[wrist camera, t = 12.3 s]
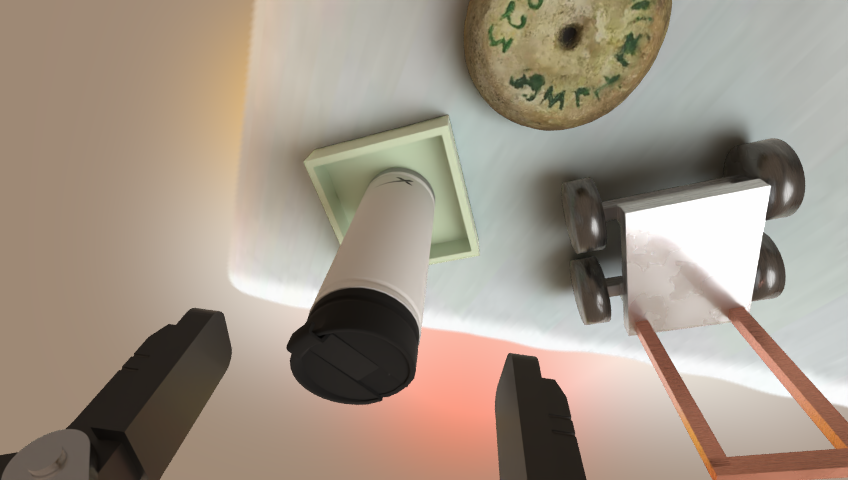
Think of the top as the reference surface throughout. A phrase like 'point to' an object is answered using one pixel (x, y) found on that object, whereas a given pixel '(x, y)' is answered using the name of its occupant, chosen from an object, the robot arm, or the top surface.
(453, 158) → the tray
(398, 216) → the travel mug
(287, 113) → the top surface
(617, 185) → the top surface
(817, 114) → the top surface
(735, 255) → the trolley
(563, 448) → the robot arm
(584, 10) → the weight
